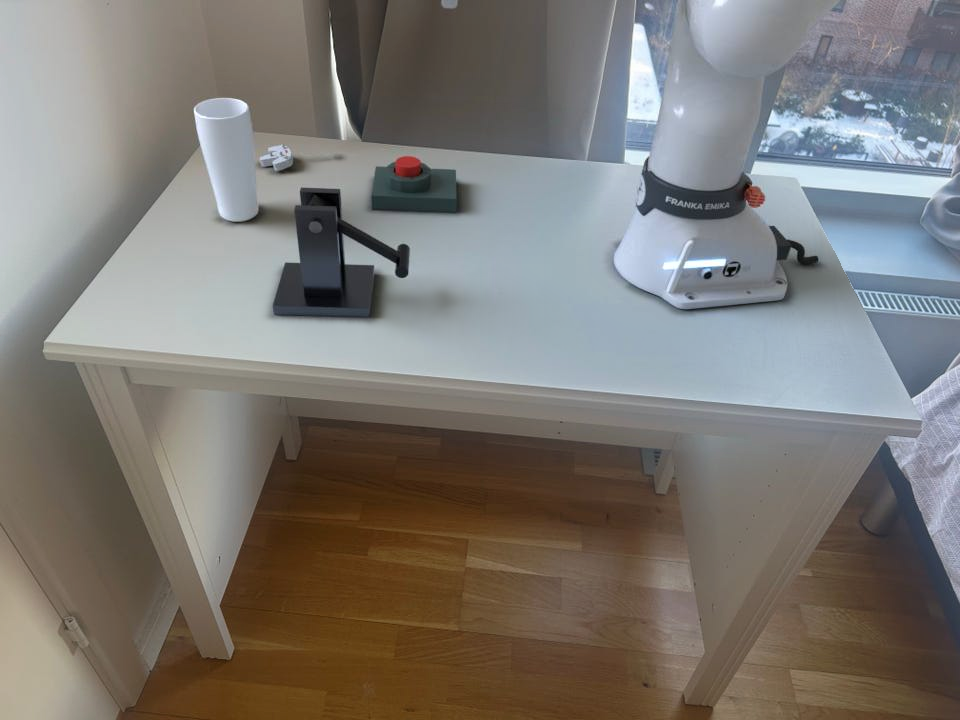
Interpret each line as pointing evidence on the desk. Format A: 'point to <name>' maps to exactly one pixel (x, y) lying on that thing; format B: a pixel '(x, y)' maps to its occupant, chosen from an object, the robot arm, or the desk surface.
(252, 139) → the drinking glass
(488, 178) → the desk surface
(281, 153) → the game controller
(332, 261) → the lever base
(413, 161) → the power button
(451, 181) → the power block
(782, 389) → the desk surface
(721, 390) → the desk surface
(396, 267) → the black lever handle
